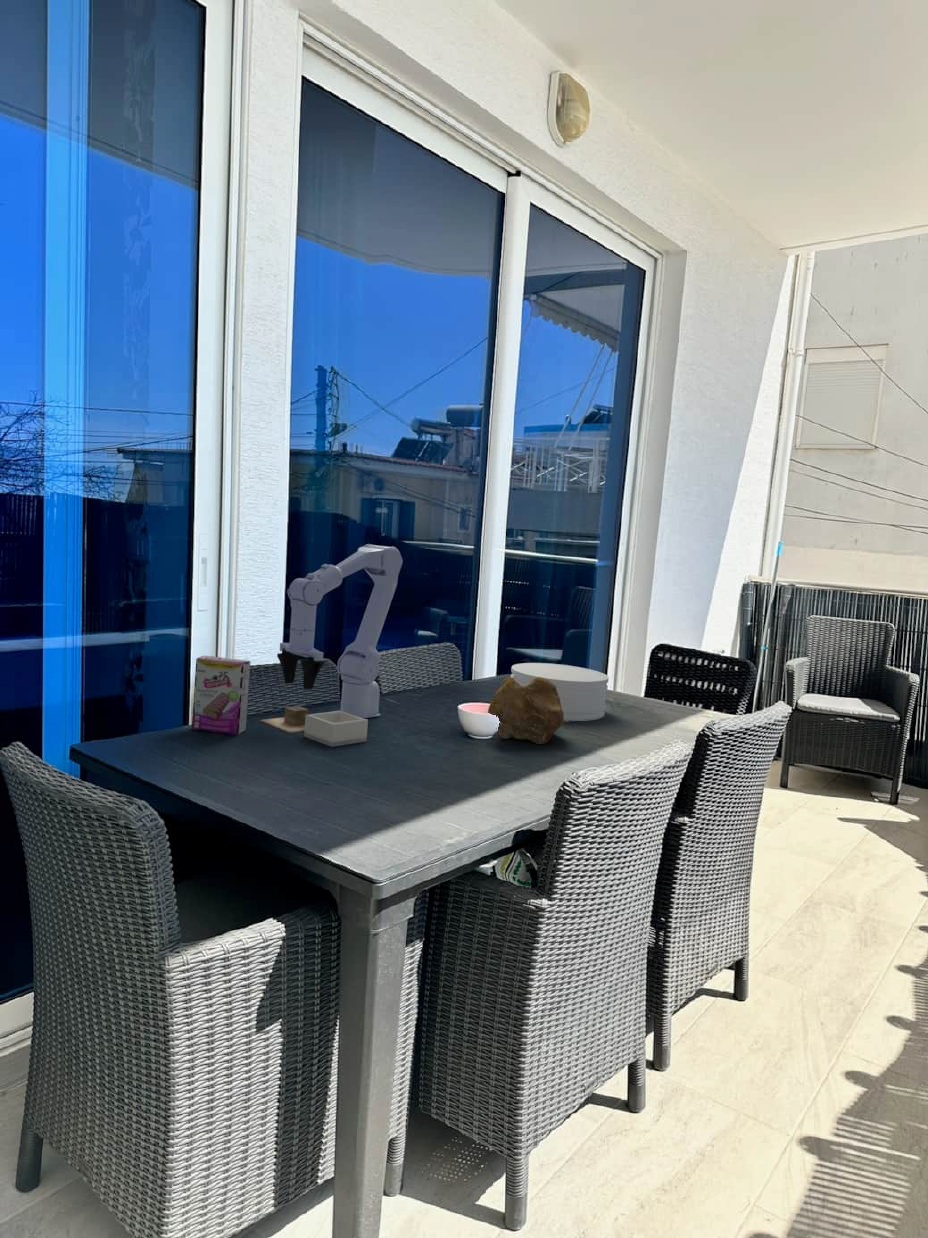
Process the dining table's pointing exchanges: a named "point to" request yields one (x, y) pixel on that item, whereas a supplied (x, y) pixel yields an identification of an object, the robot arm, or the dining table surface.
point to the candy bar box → (221, 695)
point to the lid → (290, 720)
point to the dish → (336, 728)
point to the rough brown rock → (527, 710)
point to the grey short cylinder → (569, 687)
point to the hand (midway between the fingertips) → (298, 685)
